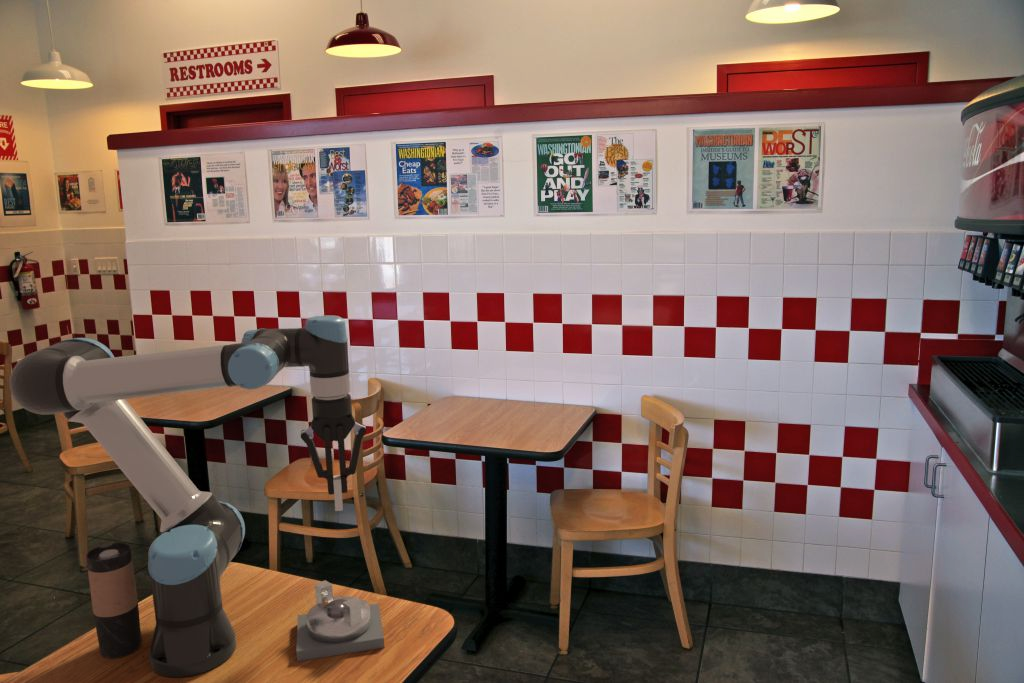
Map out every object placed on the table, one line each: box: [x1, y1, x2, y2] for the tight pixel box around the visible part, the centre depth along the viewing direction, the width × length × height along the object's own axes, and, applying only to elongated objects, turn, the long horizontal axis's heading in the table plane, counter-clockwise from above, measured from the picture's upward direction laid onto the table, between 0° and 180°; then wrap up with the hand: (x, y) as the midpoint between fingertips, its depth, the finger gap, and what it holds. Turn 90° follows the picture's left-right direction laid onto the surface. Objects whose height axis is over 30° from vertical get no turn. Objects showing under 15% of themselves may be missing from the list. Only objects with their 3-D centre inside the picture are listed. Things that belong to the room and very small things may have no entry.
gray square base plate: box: [295, 603, 385, 662], centre depth 153 cm, size 16×13×3 cm
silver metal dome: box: [306, 579, 371, 642], centre depth 153 cm, size 12×12×7 cm
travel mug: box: [86, 542, 142, 659], centre depth 149 cm, size 8×8×20 cm
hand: (339, 508), depth 159 cm, fingers closed
